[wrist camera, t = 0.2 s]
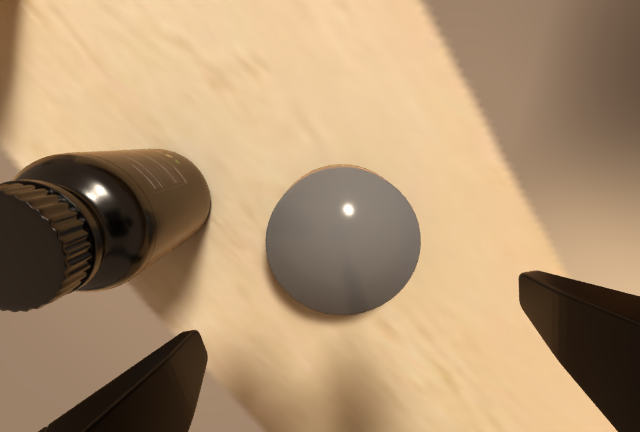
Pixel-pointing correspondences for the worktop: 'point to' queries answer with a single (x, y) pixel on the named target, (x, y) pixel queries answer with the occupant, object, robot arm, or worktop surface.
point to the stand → (343, 240)
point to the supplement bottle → (93, 221)
